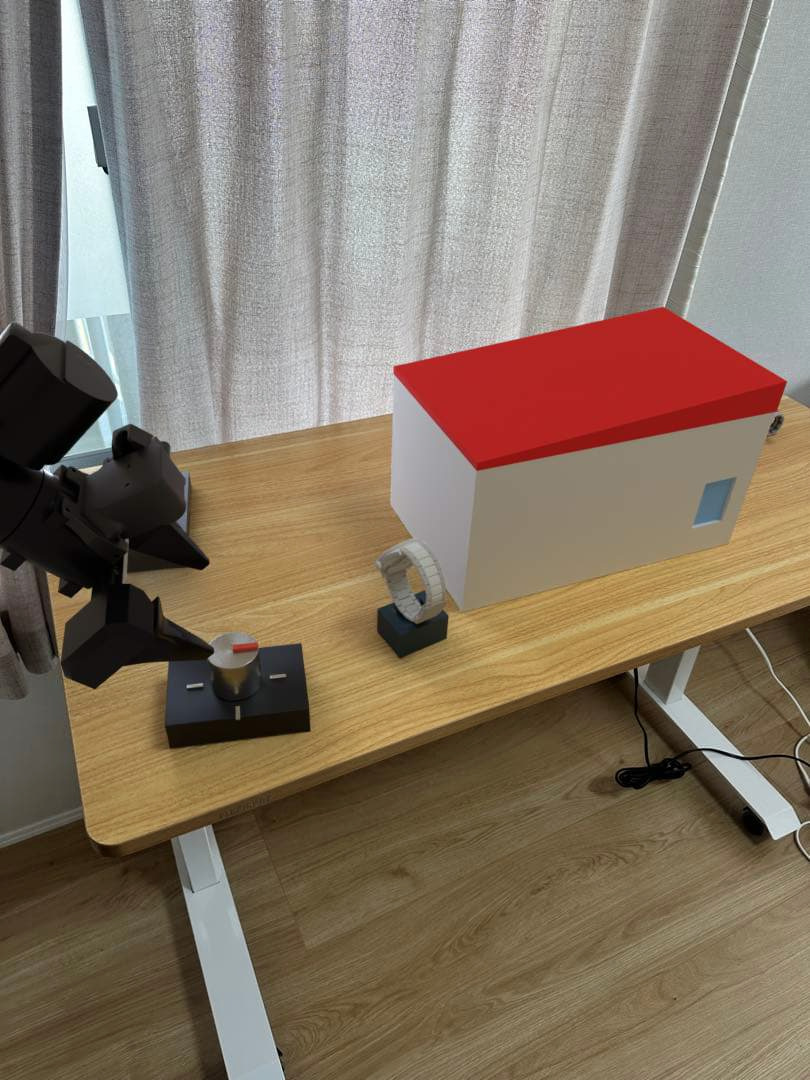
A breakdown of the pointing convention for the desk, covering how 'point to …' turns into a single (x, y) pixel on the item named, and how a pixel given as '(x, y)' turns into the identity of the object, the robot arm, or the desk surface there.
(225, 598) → the desk surface
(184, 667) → the lock panel
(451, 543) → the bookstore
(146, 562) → the dark grey button base
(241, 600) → the desk surface
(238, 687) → the lock knob
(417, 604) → the watch
